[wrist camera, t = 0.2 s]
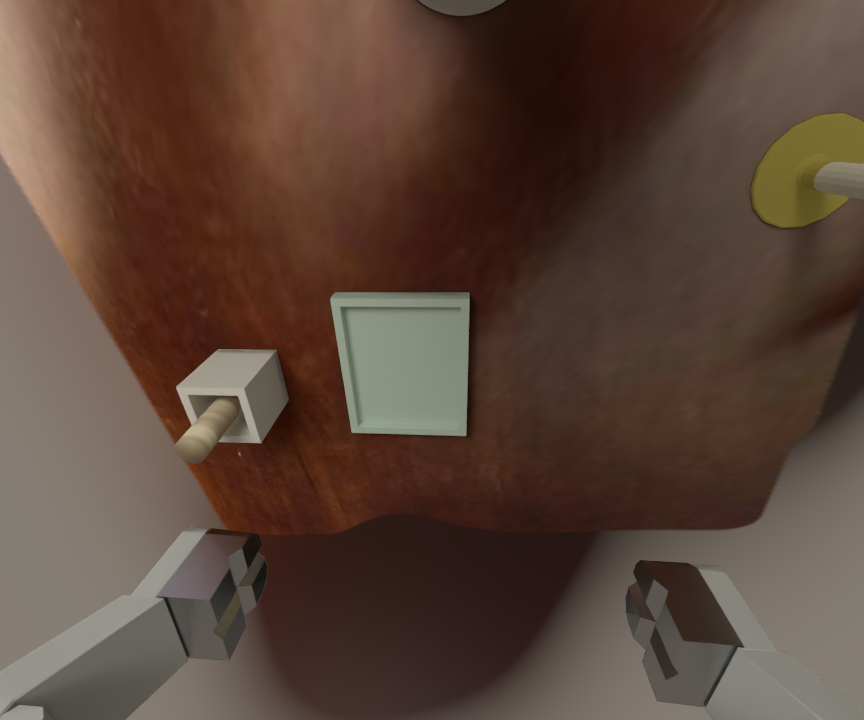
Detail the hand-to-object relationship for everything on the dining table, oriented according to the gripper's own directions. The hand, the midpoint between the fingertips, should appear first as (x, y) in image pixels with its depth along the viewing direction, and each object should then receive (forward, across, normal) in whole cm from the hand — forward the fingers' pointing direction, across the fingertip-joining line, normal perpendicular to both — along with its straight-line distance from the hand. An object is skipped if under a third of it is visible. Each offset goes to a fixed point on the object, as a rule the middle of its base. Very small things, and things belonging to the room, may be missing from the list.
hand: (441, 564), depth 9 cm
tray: (+41, +7, +14) cm, 44 cm away
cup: (+41, +28, +17) cm, 52 cm away
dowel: (+40, +28, +17) cm, 51 cm away
